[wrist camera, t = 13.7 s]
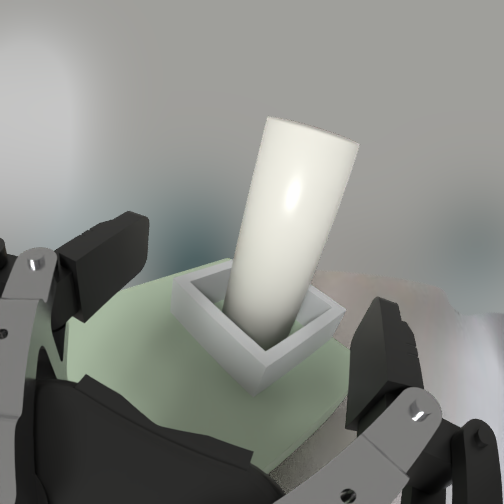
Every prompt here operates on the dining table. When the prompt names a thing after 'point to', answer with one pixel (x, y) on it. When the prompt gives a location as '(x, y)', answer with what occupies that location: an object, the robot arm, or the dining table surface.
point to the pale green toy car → (214, 363)
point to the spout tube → (285, 226)
